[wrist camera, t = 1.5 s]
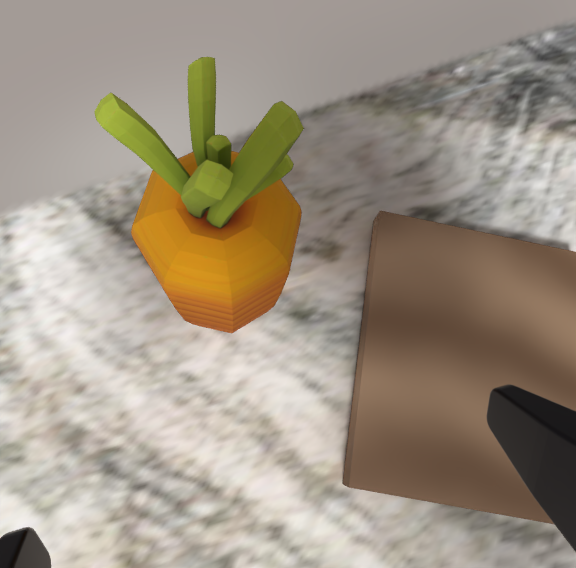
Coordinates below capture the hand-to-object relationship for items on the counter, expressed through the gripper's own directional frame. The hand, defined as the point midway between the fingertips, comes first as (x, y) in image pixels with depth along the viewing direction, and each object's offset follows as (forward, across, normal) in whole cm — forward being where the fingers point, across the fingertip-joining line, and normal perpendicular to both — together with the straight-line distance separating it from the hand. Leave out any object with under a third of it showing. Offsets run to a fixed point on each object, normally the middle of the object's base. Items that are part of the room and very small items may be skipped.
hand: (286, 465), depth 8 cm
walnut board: (+10, -12, +8) cm, 17 cm away
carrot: (+14, 0, +5) cm, 14 cm away
